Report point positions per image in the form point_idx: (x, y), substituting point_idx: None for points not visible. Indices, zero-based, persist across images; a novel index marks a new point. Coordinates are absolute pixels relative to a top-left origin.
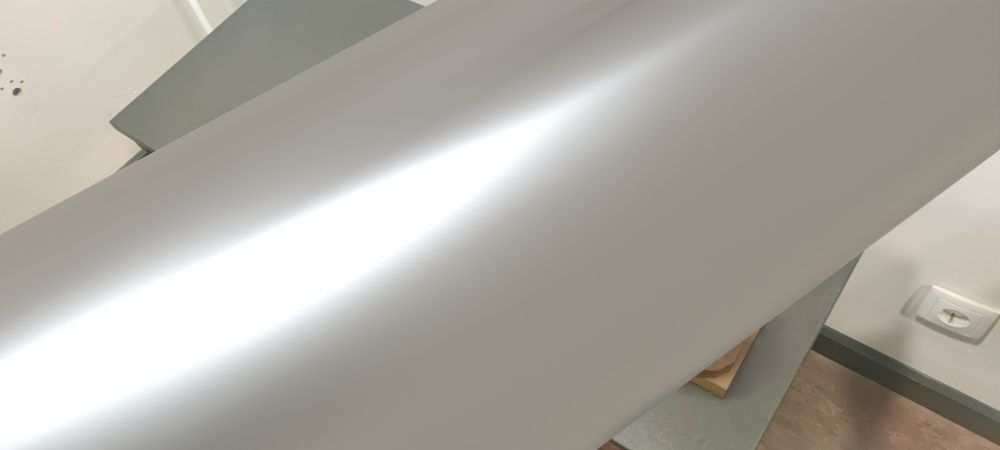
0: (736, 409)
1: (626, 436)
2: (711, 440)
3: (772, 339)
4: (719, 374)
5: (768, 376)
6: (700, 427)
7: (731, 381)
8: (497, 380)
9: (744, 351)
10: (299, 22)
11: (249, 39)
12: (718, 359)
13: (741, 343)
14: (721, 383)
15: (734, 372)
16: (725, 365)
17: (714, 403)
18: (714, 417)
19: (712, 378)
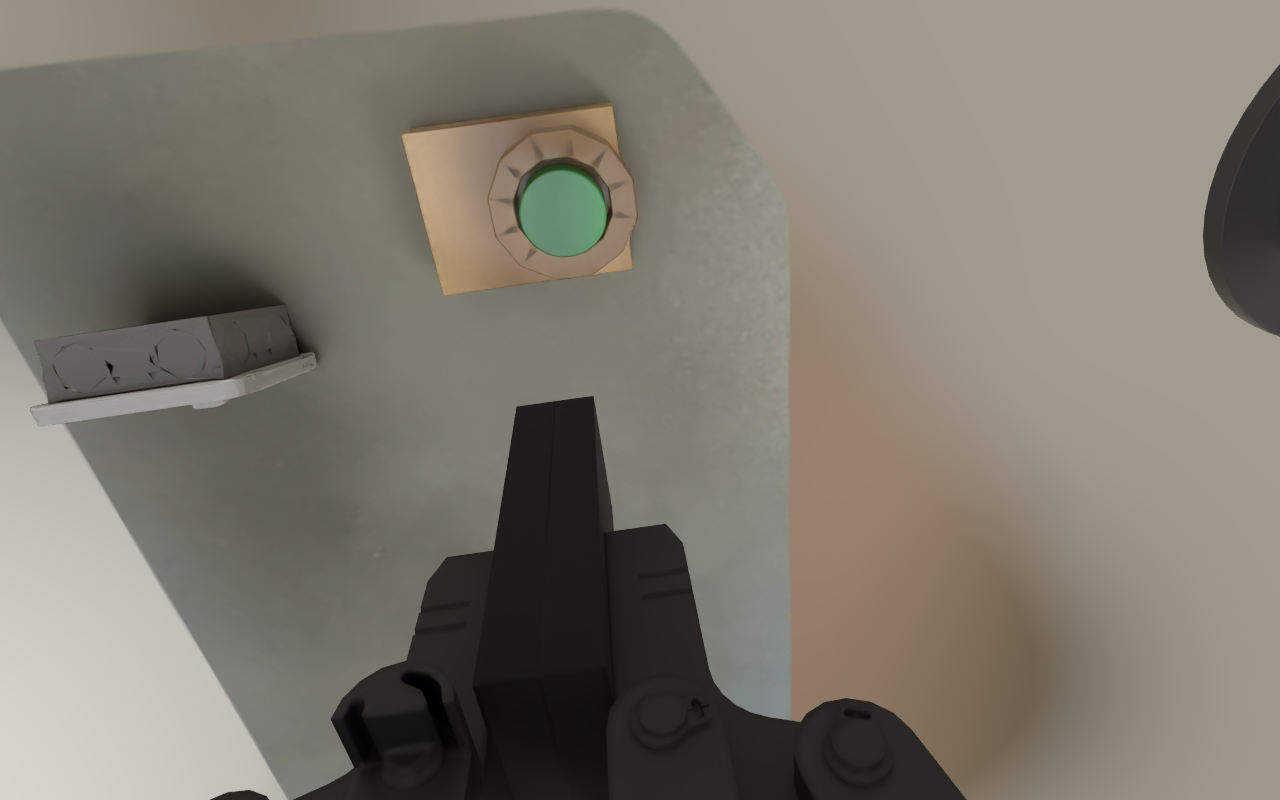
0: (611, 66)
1: (780, 200)
2: (696, 70)
3: (428, 93)
4: (598, 137)
5: (506, 53)
6: (686, 103)
7: (589, 108)
8: None
9: (515, 125)
10: None
11: None
12: (586, 158)
13: (504, 140)
14: (607, 122)
15: (569, 114)
16: (588, 138)
17: (628, 109)
18: (652, 92)
19: (610, 143)
